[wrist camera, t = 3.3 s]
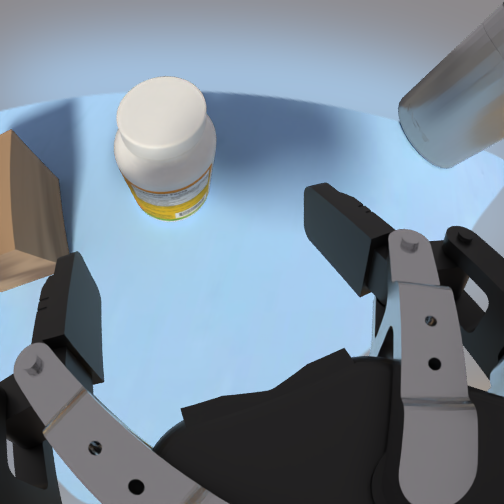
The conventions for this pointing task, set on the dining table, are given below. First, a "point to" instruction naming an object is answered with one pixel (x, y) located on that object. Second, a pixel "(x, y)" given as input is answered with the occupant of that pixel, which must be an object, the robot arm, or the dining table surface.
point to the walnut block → (28, 215)
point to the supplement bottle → (166, 147)
